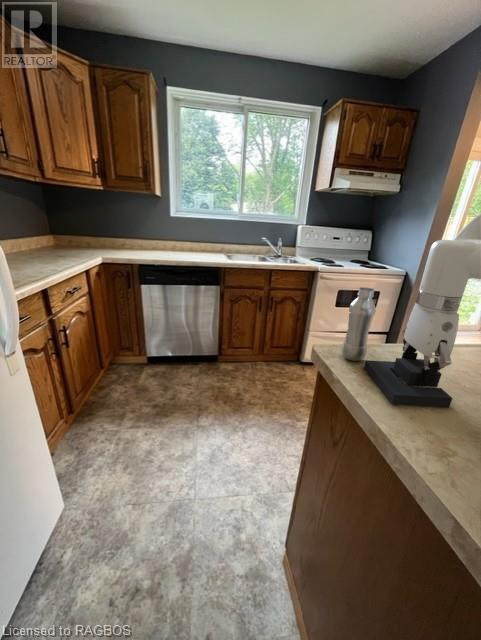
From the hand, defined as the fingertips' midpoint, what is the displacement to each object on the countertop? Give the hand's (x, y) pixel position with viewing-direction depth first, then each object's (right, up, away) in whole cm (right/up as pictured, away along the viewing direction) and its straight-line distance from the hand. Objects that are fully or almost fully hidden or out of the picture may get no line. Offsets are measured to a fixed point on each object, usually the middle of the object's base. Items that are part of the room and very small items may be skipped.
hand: (415, 374), depth 63 cm
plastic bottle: (-9, +2, +13) cm, 16 cm away
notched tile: (-3, -3, +1) cm, 4 cm away
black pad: (0, -1, 0) cm, 1 cm away
